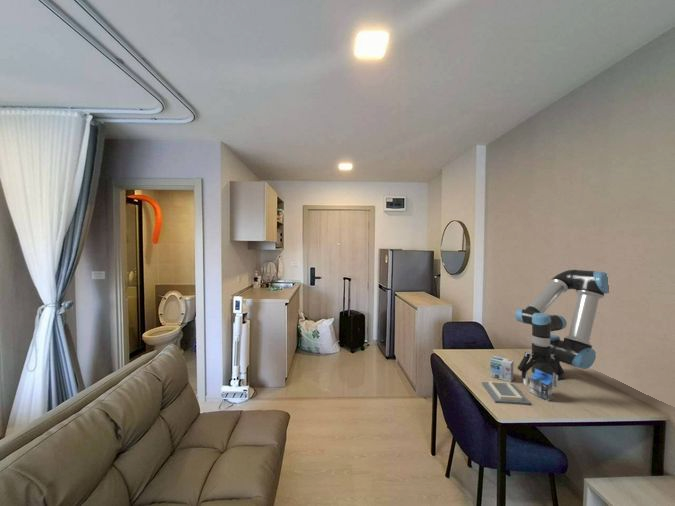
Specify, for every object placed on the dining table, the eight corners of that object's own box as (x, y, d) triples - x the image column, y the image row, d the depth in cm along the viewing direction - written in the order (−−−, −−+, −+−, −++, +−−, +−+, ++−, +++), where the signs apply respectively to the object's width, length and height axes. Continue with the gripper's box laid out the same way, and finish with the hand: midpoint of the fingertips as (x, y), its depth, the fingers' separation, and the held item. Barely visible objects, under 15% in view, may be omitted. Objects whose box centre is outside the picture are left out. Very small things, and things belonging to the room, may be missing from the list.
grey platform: (513, 385, 148) (513, 381, 148) (531, 405, 130) (531, 400, 130) (481, 383, 150) (481, 379, 150) (495, 402, 132) (495, 397, 132)
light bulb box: (490, 376, 158) (490, 358, 158) (493, 372, 163) (492, 355, 163) (511, 382, 151) (511, 363, 150) (513, 378, 156) (513, 359, 155)
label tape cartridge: (529, 392, 141) (529, 369, 140) (534, 390, 142) (534, 367, 142) (547, 401, 132) (547, 377, 132) (552, 399, 134) (553, 375, 133)
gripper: (563, 342, 138) (562, 383, 139) (510, 340, 142) (510, 380, 143) (573, 348, 131) (573, 391, 131) (517, 345, 135) (517, 387, 135)
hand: (540, 385), depth 137 cm, fingers open, 13 cm apart
